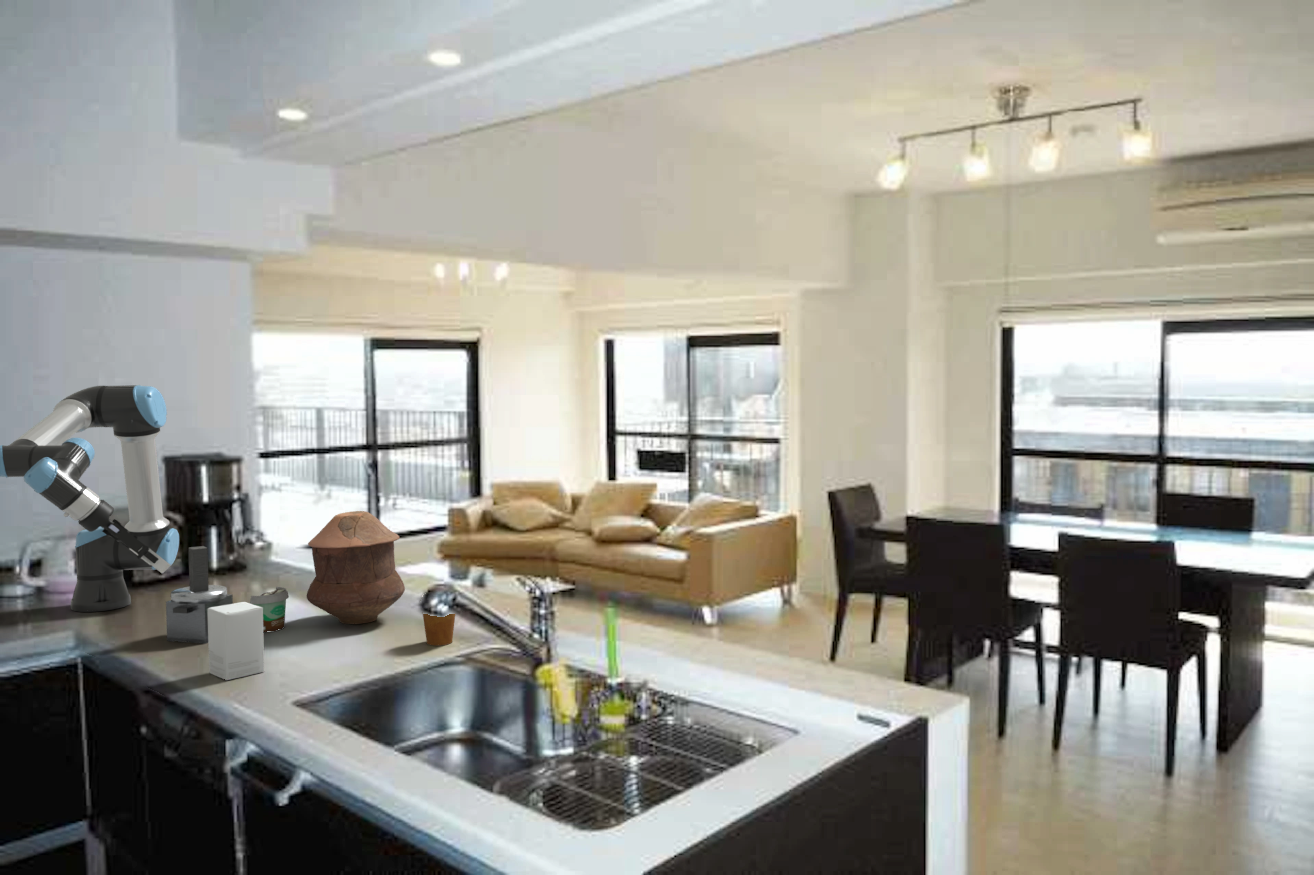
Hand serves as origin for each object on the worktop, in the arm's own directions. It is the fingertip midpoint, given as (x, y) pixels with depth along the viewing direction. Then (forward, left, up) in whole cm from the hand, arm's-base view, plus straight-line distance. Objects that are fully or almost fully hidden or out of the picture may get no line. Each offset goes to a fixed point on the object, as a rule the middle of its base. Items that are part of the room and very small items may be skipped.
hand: (160, 565), depth 242 cm
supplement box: (+18, +34, -20) cm, 43 cm away
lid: (-7, +6, -10) cm, 13 cm away
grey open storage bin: (-7, +6, -20) cm, 22 cm away
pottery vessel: (-30, +37, -20) cm, 51 cm away
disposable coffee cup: (-15, +68, -20) cm, 72 cm away
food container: (-18, +20, -20) cm, 33 cm away
